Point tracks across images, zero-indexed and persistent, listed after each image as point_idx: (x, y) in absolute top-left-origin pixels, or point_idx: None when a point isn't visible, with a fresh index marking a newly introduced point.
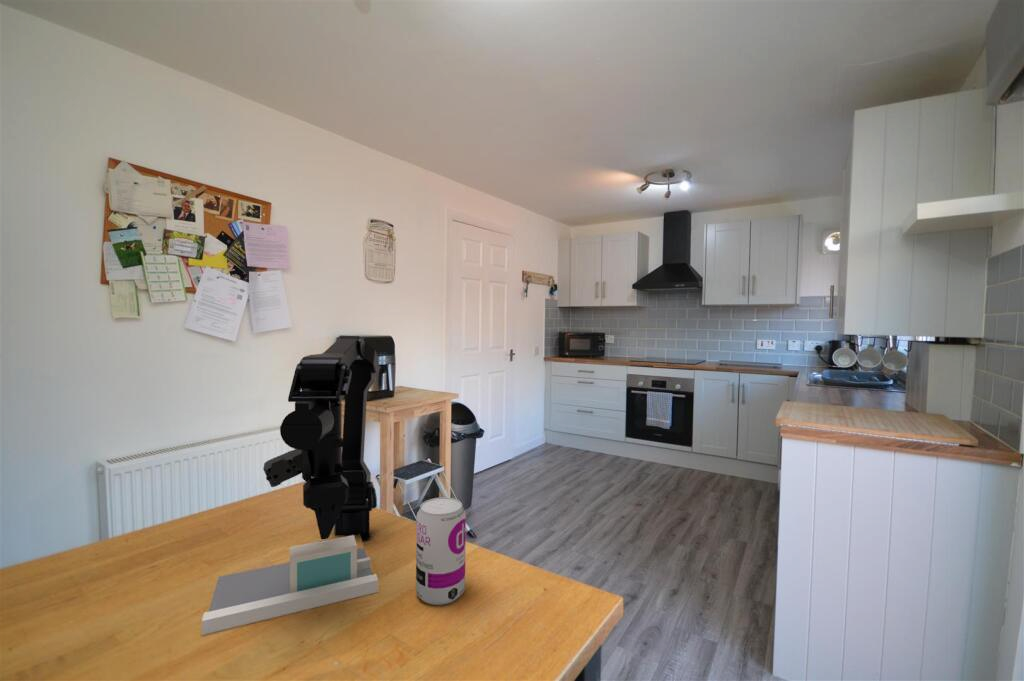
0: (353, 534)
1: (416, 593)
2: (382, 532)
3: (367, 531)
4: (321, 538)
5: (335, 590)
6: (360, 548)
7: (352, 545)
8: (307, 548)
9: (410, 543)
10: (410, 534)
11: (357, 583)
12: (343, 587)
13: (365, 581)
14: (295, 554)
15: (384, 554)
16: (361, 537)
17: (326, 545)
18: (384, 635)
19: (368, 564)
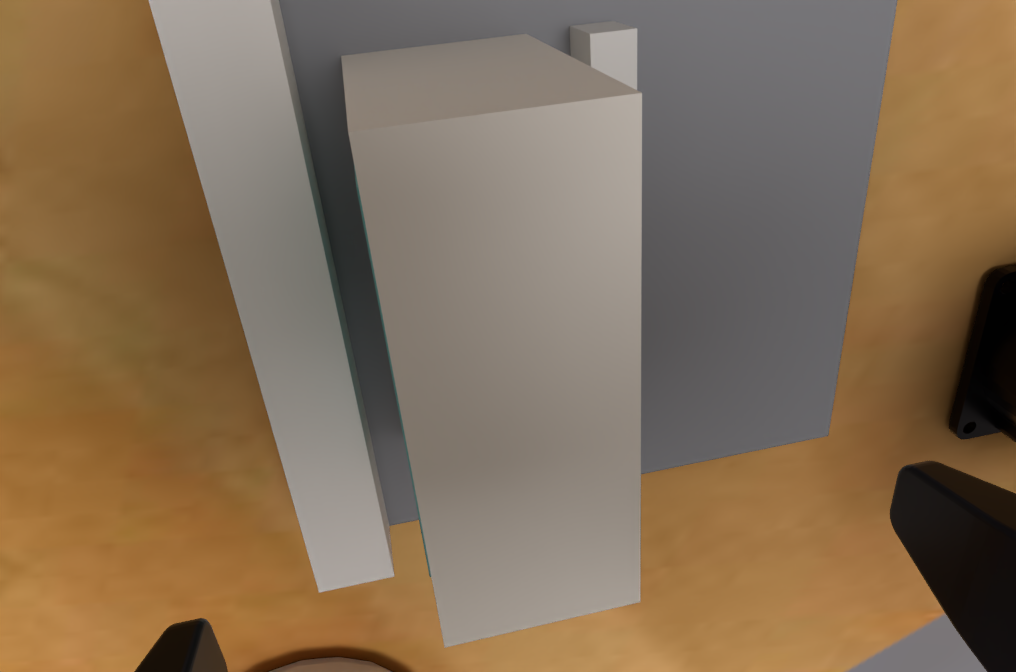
0: (1012, 370)
1: (297, 668)
2: (986, 476)
3: (1011, 430)
4: (167, 636)
5: (262, 384)
6: (829, 418)
7: (451, 621)
8: (529, 283)
9: (797, 597)
10: (882, 592)
11: (309, 498)
12: (277, 430)
13: (322, 535)
14: (431, 180)
15: (756, 500)
16: (983, 393)
17: (530, 439)
18: (11, 551)
19: None
